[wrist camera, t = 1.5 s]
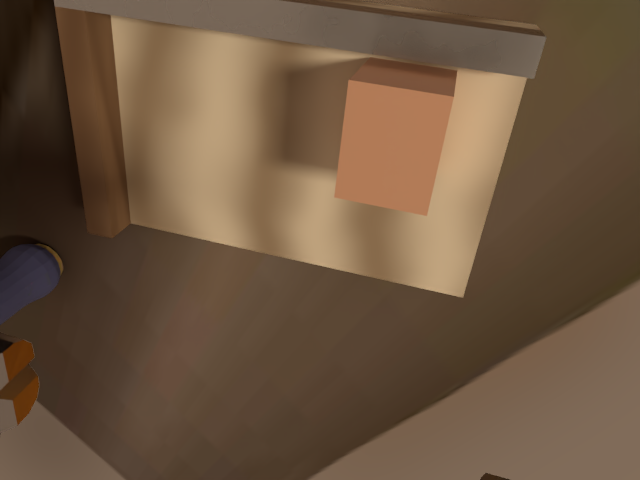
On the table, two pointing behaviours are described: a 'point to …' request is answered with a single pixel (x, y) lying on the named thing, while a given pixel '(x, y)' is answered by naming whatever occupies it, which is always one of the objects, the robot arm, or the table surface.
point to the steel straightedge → (347, 29)
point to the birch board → (268, 146)
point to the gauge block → (394, 134)
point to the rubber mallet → (27, 276)
